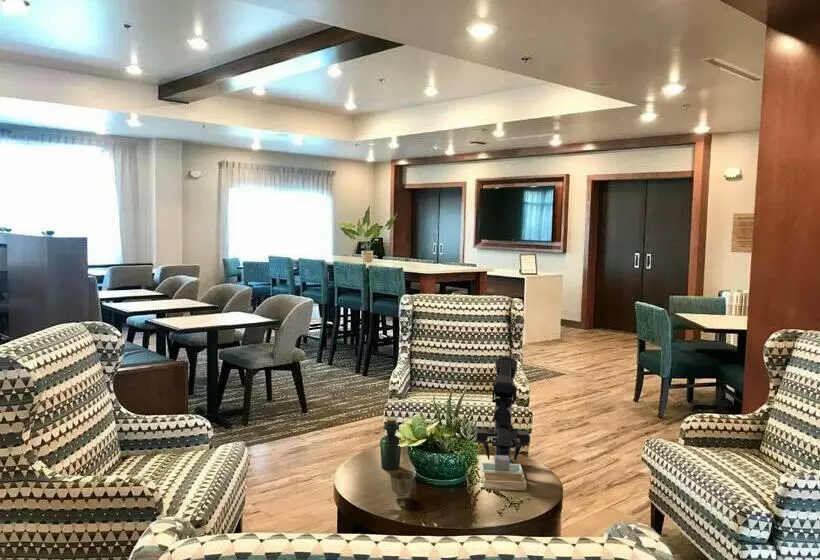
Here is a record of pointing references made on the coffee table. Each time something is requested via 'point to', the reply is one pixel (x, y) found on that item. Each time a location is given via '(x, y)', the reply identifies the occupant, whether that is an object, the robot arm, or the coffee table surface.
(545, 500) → the coffee table surface
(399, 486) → the cup
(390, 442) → the potion bottle
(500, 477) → the bin
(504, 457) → the stone block
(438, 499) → the coffee table surface
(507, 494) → the coffee table surface
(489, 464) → the bin
